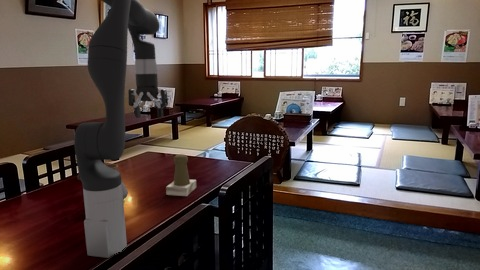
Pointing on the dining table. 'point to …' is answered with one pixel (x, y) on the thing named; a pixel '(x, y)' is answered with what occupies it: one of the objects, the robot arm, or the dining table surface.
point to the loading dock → (181, 189)
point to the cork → (181, 170)
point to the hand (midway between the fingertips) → (149, 118)
